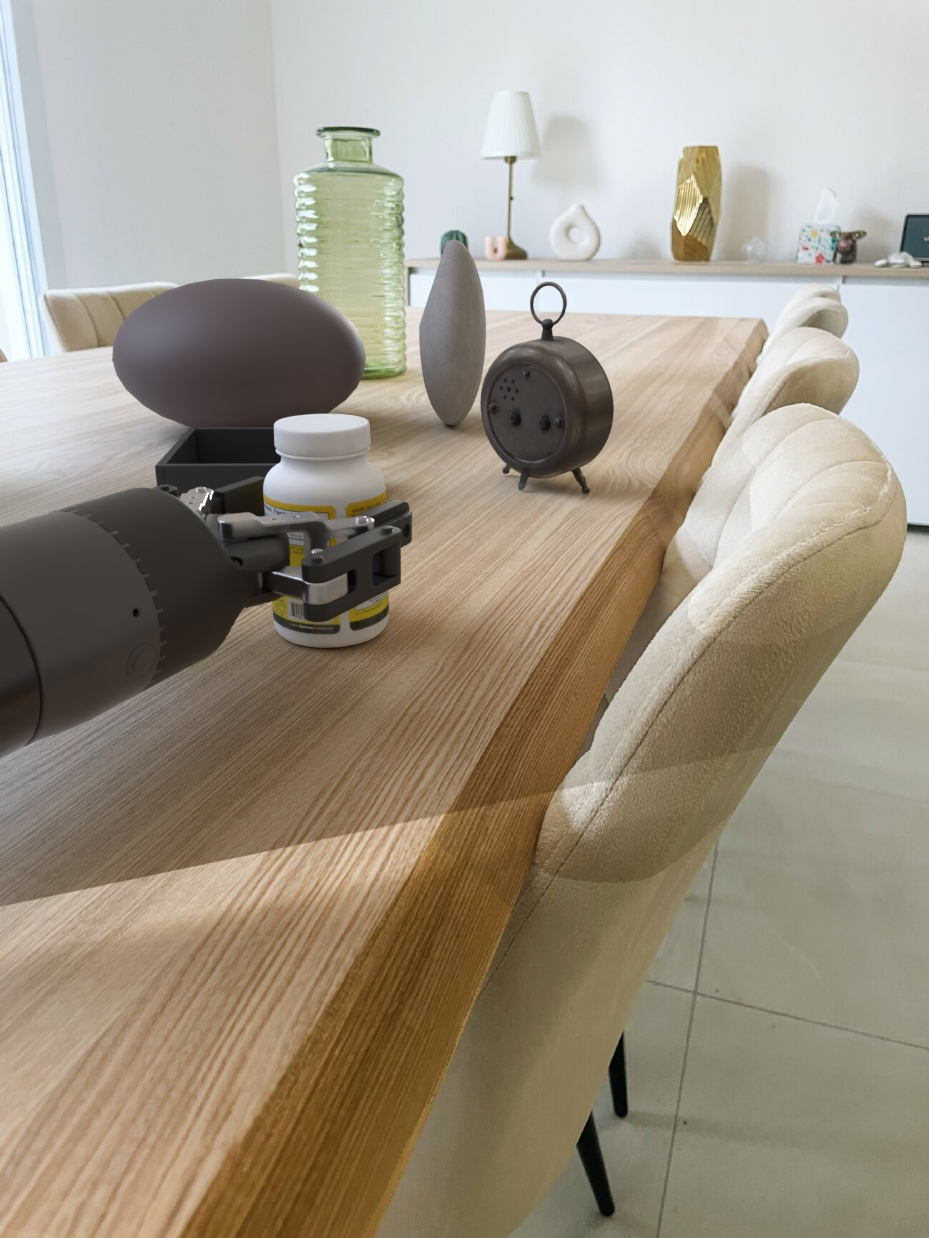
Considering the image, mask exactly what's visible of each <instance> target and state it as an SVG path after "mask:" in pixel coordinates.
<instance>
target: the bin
mask: <svg viewBox="0 0 929 1238" xmlns="http://www.w3.org/2000/svg"><path fill="white" fill-rule="evenodd" d="M280 462H281V456H280V455H279V454H277V453H276V447H275V444H274V427H197V428H196V427H189V428H187V430H186V431H185V432H184V433H183V434H181V436H180V438H178V440H177V441H176V442H175V443H174V444H173V445H172V446H171V447H170V449H169V450H168V451H167V452H165V454H164V455H163V456H162V457H161V458H160V460H158V462H157V463H156V464H155V465H154V471H155V480H156V487H158V486H159V485H169V486H175V487H177V493H178V496H181V494H182V493H188V491H189V490H191V489H195V488H196V487H205V488H210V489H213V490H215V489H218V488H221V487H224V486H228V485H231V484H234V483H237V482H240V481H243V480H246V479H249V478H252V477H255V476H258V477H264V478H265V477H266V475H267V474H268V472H269V471H270V470H271V469H272V468H273V467H274V466H275V465H277V464H279V463H280ZM213 493H214V491H213Z"/></svg>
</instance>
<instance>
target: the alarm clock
mask: <svg viewBox="0 0 929 1238" xmlns="http://www.w3.org/2000/svg"><path fill="white" fill-rule="evenodd" d="M544 287H553V288H555V289H556V291H558V292H559V294H560V296H561V299H562V309H561V312H560V315H559V316H558V318H557V319H556V320H554V321H553V319H551V318H545V319H543V320H541V319H540V318H539V317H538V316H537V314H536V311H535V307H534V304H535V298H536V295H537V294H538V293H539V292H540V290H541V289H543V288H544ZM567 306H568V298H567V294H566V292H565V291H564V289H563V288H562V286H560V284H558V283H557V282H554V281H543V282H541V283H540V284H538V285H537V286H536V288H535V289H534V290H533V291H532V293H531V296H530V298H529V308H530V313H531V315H532V317H533V319H534V320H535V321H536V323H537V324H540V325H541V328H542V331H541V337H539V338H537V339H531V340H527V341H522V342H519V343H516V344H513V345H511V346H509V347H507V348H506V349H504V350H503V351H502V352H500V353H499V354H498V355H497V356H496V358H494V360H493V361H492V363H491V364H490V366H489V368H488V370H487V371H486V374H485V376H484V378H483V381H482V386H481V391H480V402H479V404H480V416H481V421H482V426H483V429H484V432H485V436H486V438H487V440H488V443H489V444H490V445H491V448H492V449H493V450H494V452H495V453H496V455H497V456H498V457H499V459H500V460H501V461H502V462H503V463H505V466H503V468H502V472H501V473H502V474H503V475H508V474H510V471H511V469H512V471H514V472H517V473H518V474H520V476H519V481H518V484H517V489H518V490H519V491H524V489H525V487H526V485H527V483H528V479H529V478H531V479H538V480H539V479H544V480H545V479H552V478H554V477H555V478H556V477H557V476H561V475H564V474H566V473H570V472H571V474H572V475H573V477H574V479H575V481H576V483H578V485H579V486H580V487H581V493H582V495H583V494H584V495H588V494H589V493H590V492H591V488H590V487H588V484H587V478H586V477H585V476H584V474H583V472H582V469H581V468H582V467H584V466H587V465H588V464H590V463H591V462H593V461H594V460H595V459H596V458H597V457H598V456H599V455H600V453H601V452H602V451H603V449H604V448H605V446H606V444H607V442H608V439H609V437H610V435H611V432H612V427H613V421H614V412H615V408H614V406H615V404H614V403H615V402H614V396H613V391H612V386H611V383H610V381H609V378H608V376H607V373H606V371H605V369H604V368H603V366H602V364H601V363H600V361H599V360H598V359H597V357H596V356H595V355H594V354H593V353H592V351H590V350H589V349H588V348H587V347H585V345H583V344H582V343H580V342H579V341H576V340H575V339H572V338H570V337H566V336H562V335H554V334H553V333H554V332H553V328H554V326H555V325H557V324H558V323H560V321H561V320H562V318H564V316H565V313H566V310H567Z"/></svg>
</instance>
